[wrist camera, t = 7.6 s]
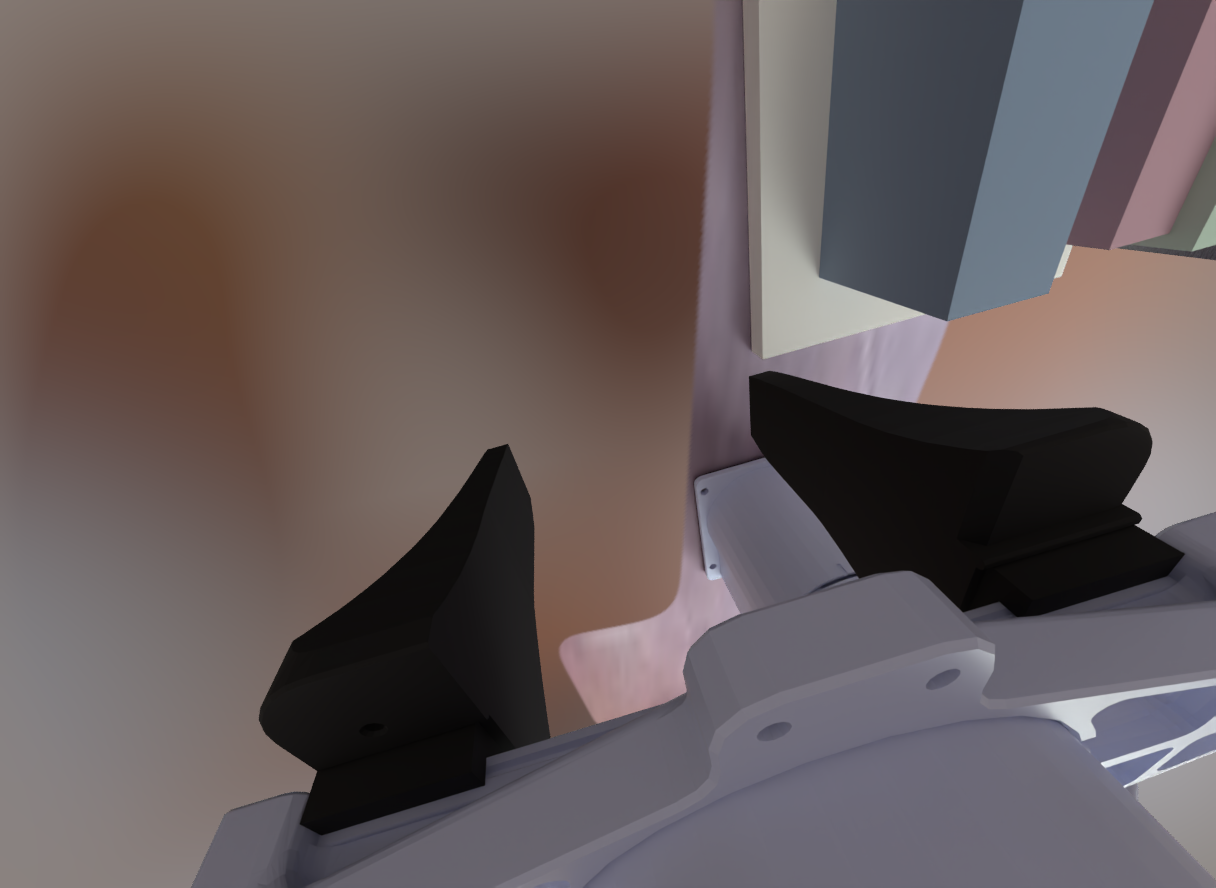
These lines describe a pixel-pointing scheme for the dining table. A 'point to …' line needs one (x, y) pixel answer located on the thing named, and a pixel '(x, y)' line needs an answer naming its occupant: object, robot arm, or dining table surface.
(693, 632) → the dining table surface
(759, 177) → the shelf board
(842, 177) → the slate book
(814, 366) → the dining table surface
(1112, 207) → the books
